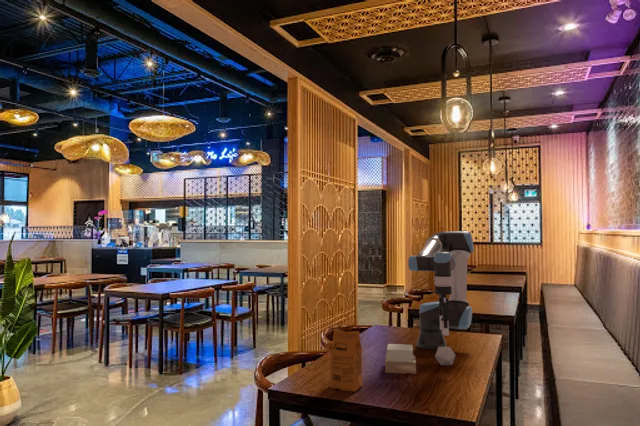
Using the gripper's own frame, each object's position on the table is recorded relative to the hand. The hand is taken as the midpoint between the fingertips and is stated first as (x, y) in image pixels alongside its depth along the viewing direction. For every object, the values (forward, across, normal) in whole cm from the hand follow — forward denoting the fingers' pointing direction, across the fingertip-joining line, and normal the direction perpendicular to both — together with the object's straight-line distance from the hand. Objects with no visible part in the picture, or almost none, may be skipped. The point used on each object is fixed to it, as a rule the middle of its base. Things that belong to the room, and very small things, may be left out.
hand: (444, 332), depth 205 cm
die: (+15, 0, 0) cm, 15 cm away
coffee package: (+15, +38, -41) cm, 58 cm away
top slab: (+10, +10, -20) cm, 24 cm away
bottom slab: (+15, +9, -20) cm, 27 cm away
